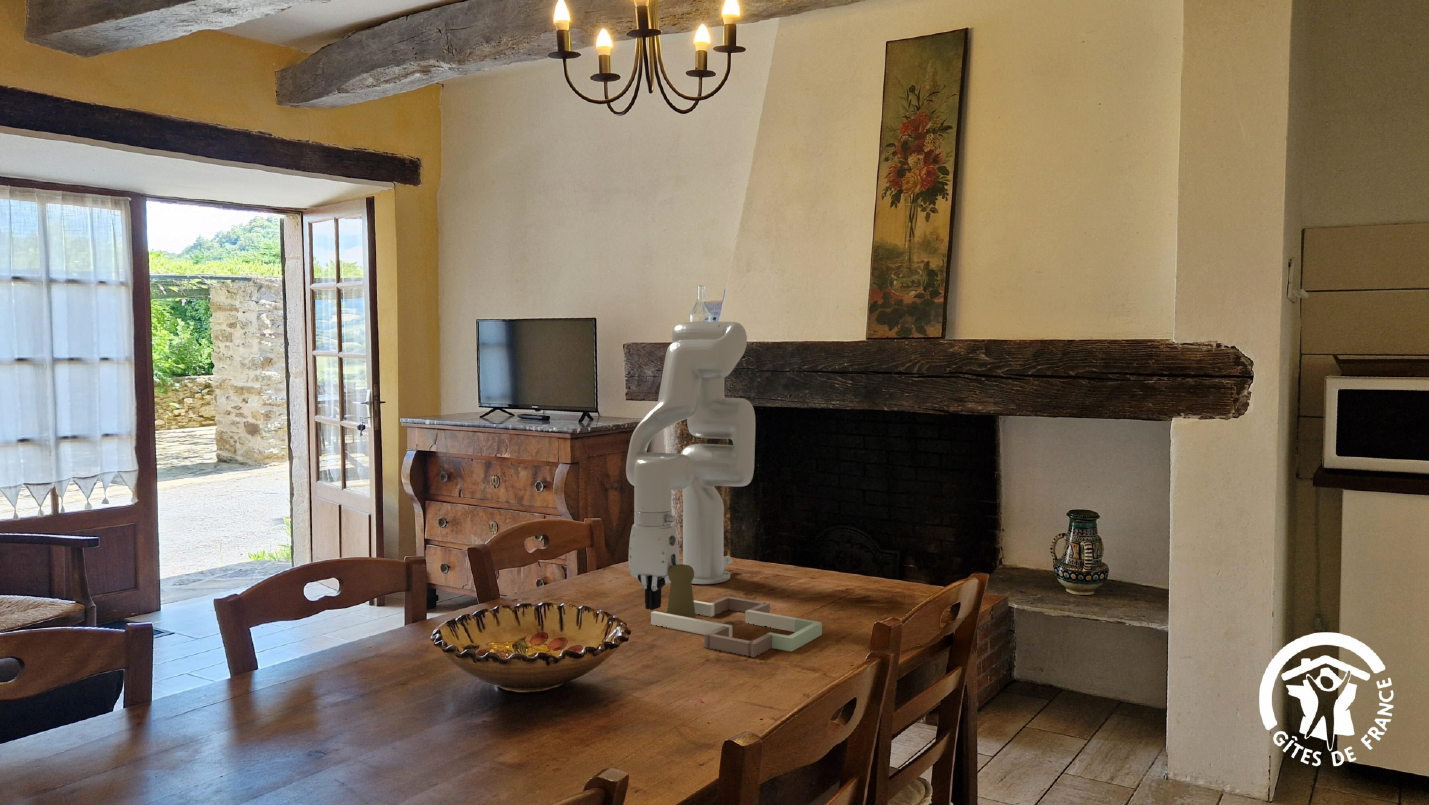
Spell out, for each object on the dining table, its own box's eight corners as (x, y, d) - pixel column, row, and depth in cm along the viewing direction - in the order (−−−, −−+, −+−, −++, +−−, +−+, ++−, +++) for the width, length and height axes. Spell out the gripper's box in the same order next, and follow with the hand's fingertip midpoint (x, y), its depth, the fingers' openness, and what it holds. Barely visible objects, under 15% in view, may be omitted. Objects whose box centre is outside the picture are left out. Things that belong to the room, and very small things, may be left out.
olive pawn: (697, 616, 200) (698, 562, 199) (694, 624, 194) (694, 569, 193) (668, 615, 201) (668, 561, 200) (663, 623, 195) (663, 568, 194)
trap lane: (703, 603, 209) (703, 592, 209) (836, 626, 193) (836, 614, 193) (630, 632, 188) (630, 620, 188) (773, 661, 172) (773, 648, 171)
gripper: (693, 519, 199) (693, 609, 200) (635, 512, 207) (635, 598, 208) (672, 525, 193) (672, 618, 194) (612, 517, 201) (612, 606, 202)
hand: (653, 608), depth 201 cm, fingers closed
